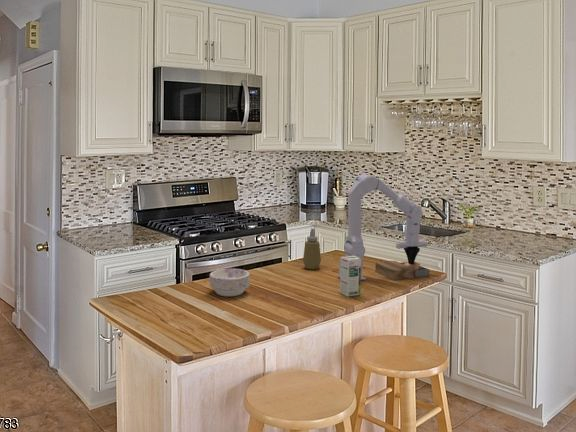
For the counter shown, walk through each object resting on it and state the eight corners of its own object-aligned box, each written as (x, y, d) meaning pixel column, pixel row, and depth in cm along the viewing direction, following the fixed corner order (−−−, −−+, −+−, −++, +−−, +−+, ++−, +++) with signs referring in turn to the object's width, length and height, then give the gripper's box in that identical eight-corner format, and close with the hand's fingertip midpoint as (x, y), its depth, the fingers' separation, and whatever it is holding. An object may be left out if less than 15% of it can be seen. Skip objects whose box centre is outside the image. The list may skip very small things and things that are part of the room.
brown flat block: (393, 280, 240) (393, 270, 239) (375, 271, 254) (375, 262, 253) (413, 277, 244) (414, 268, 243) (394, 269, 257) (395, 260, 257)
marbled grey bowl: (204, 297, 213) (204, 277, 211) (216, 286, 227) (216, 267, 226) (244, 300, 210) (244, 279, 209) (253, 289, 225) (253, 269, 224)
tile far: (416, 263, 253) (417, 266, 254) (410, 260, 258) (411, 264, 258) (407, 267, 252) (408, 271, 252) (401, 265, 256) (402, 268, 257)
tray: (414, 277, 244) (414, 271, 243) (395, 269, 258) (395, 262, 257) (429, 276, 246) (429, 269, 246) (409, 268, 260) (410, 261, 260)
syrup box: (347, 297, 216) (348, 259, 213) (339, 292, 221) (340, 256, 219) (360, 295, 218) (361, 258, 216) (352, 291, 223) (353, 254, 221)
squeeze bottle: (324, 267, 259) (324, 228, 256) (315, 271, 252) (315, 231, 250) (308, 265, 263) (309, 226, 261) (299, 268, 257) (300, 229, 254)
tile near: (416, 262, 245) (420, 263, 246) (410, 260, 250) (413, 261, 251) (413, 274, 246) (416, 274, 246) (406, 271, 250) (410, 272, 251)
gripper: (403, 235, 239) (401, 267, 241) (432, 233, 244) (430, 264, 246) (394, 232, 246) (392, 263, 248) (422, 230, 251) (421, 261, 253)
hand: (410, 263), depth 247 cm, fingers closed
